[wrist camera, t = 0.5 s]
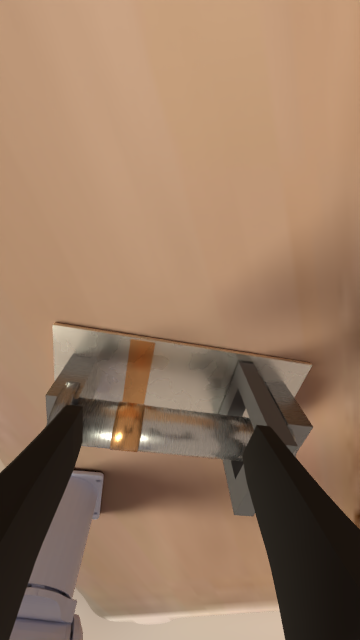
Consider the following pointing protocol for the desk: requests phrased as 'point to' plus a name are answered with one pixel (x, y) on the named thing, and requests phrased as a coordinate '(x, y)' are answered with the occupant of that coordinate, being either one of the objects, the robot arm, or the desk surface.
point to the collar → (262, 411)
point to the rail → (164, 393)
